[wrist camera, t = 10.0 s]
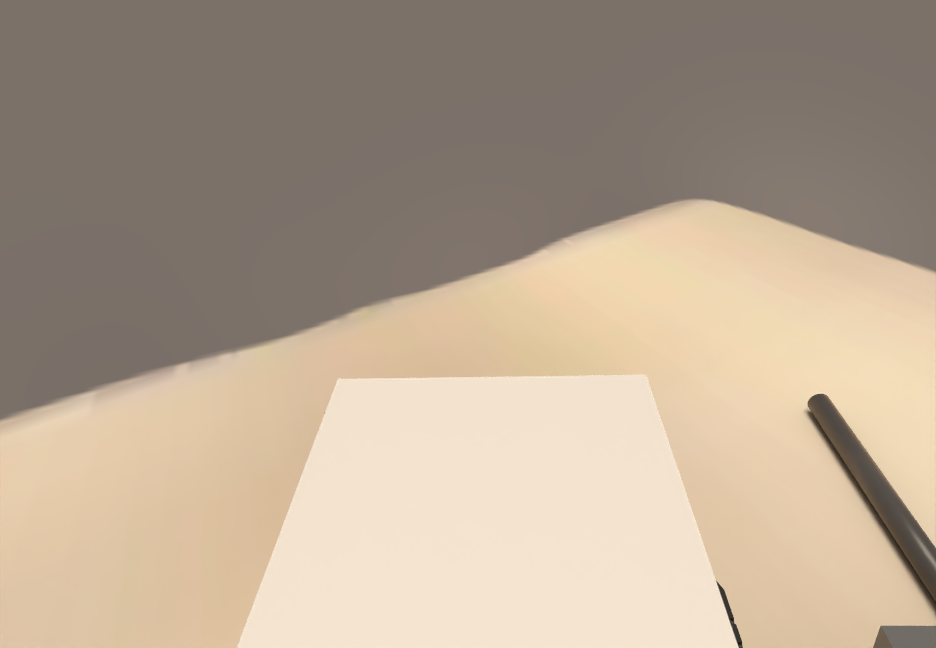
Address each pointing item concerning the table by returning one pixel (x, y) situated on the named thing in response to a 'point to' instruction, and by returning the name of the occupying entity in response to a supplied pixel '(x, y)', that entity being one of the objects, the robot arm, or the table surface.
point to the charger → (490, 523)
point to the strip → (883, 518)
